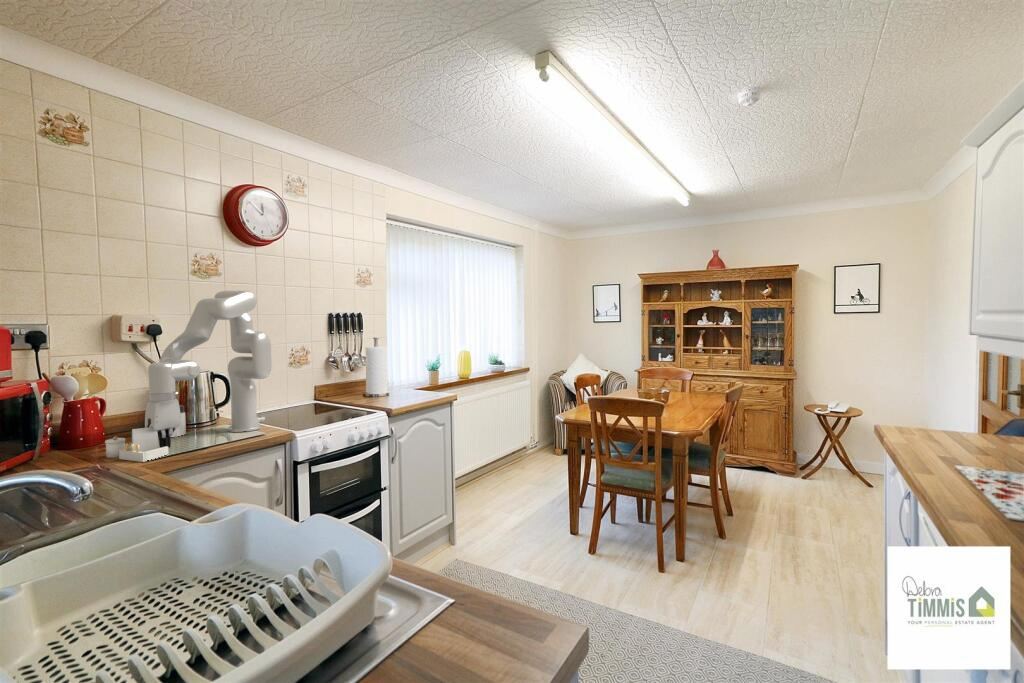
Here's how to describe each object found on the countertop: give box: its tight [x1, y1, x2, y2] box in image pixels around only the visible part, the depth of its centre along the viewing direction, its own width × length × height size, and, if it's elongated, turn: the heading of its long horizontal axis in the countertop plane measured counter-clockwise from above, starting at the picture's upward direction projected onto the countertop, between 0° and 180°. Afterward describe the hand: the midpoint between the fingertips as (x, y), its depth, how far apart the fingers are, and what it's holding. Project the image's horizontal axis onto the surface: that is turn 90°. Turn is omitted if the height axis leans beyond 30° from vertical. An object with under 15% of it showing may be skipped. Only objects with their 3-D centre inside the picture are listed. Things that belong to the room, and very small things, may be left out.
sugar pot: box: [104, 436, 126, 459], centre depth 163 cm, size 5×5×7 cm
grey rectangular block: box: [131, 427, 159, 452], centre depth 162 cm, size 4×7×10 cm, turn 136°
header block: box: [118, 442, 169, 463], centre depth 161 cm, size 8×11×5 cm
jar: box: [171, 404, 187, 438], centre depth 191 cm, size 9×8×12 cm
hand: (165, 447), depth 168 cm, fingers closed
